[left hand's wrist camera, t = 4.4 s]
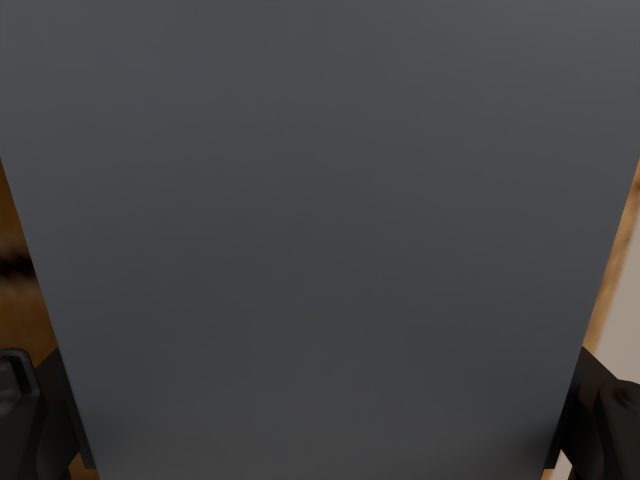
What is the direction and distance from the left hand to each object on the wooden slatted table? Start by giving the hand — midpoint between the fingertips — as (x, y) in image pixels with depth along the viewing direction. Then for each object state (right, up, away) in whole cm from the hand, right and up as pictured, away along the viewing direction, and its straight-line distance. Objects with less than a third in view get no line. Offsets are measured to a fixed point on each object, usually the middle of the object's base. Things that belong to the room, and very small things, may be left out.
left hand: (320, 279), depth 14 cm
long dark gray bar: (0, +28, -10) cm, 30 cm away
